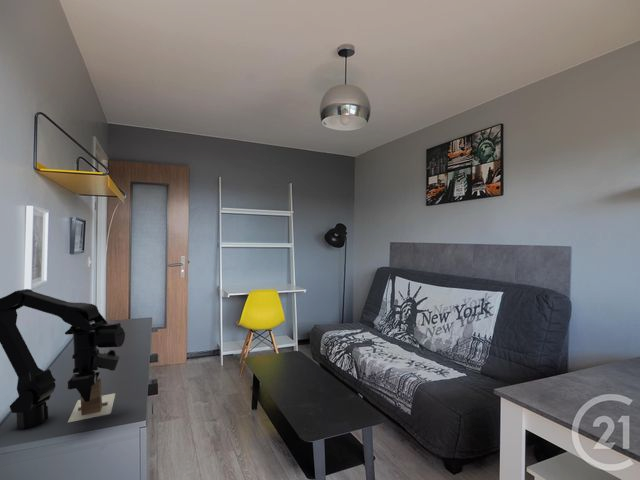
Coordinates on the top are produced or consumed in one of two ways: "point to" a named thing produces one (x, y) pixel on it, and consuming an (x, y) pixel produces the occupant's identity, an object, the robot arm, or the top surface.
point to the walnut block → (93, 400)
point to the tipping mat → (106, 409)
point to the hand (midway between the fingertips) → (87, 401)
